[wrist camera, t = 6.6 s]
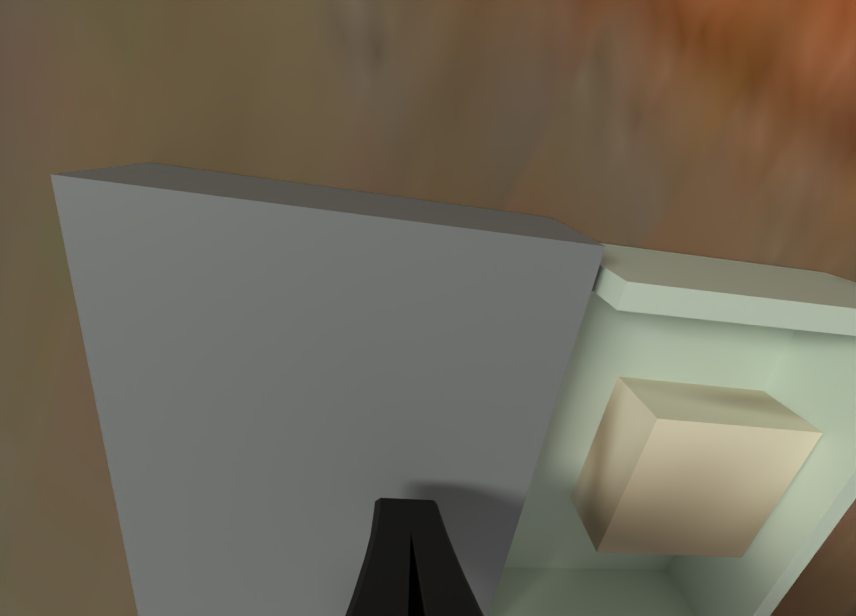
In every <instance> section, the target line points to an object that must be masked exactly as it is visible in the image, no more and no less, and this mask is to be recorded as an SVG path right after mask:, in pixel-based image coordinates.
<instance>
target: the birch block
mask: <svg viewBox="0 0 856 616" xmlns="http://www.w3.org/2000/svg"><path fill="white" fill-rule="evenodd" d="M822 434H823V432H821V431H820V430H818V429H817V428H815V427H814V426H813V425H811V424H810V423H808V422H807V421H805V420H804V419H803V418H801V417H800V416H798V415H797V414H795V413H794V412H792V411H791V410H790V409H788V408H787V407H785V406H784V405H782V404H781V403H780V402H778V401H777V400H775V399H774V398H772V397H771V396H769V395H768V394H767V393H765V392H764V391H760V390H750V389H740V388H730V387H720V386H710V385H700V384H690V383H680V382H670V381H660V380H650V379H640V378H630V377H620V376H618V378H617V381H616V383H615V386H614V388H613V391H612V393H611V396H610V398H609V401H608V404H607V406H606V409H605V411H604V414H603V416H602V419H601V421H600V424H599V426H598V429H597V432H596V434H595V437H594V439H593V442H592V444H591V447H590V449H589V452H588V455H587V457H586V460H585V462H584V465H583V467H582V470H581V472H580V475H579V478H578V480H577V483H576V485H575V488H574V490H573V493H572V495H571V501H572V503H573V505H574V507H575V509H576V511H577V513H578V515H579V517H580V519H581V521H582V523H583V525H584V527H585V529H586V531H587V533H588V535H589V537H590V539H591V542H592V544H593V546H594V548H595V550H596V552H606V553H633V554H661V555H688V556H715V557H742V556H743V555H744V553H745V552H746V550H747V549H748V547H749V546H750V544H751V543H752V541H753V539H754V538H755V536H756V535H757V533H758V532H759V530H760V529H761V527H762V526H763V524H764V523H765V521H766V520H767V518H768V517H769V515H770V513H771V512H772V510H773V509H774V507H775V506H776V504H777V503H778V501H779V500H780V498H781V497H782V495H783V494H784V492H785V491H786V489H787V487H788V486H789V484H790V483H791V481H792V480H793V478H794V477H795V475H796V474H797V472H798V471H799V469H800V468H801V466H802V465H803V463H804V461H805V460H806V458H807V457H808V455H809V454H810V452H811V451H812V449H813V448H814V446H815V445H816V443H817V442H818V440H819V439H820V437H821V435H822Z"/></svg>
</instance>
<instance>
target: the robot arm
mask: <svg viewBox="0 0 856 616" xmlns="http://www.w3.org/2000/svg"><path fill="white" fill-rule="evenodd" d="M345 616H484V615H483V613H482V611H481V609H480V607H479V605H478V603H477V601H476V598H475V596H474V594H473V592H472V590H471V588H470V586H469V583H468V581H467V579H466V577H465V575H464V573H463V570H462V568H461V566H460V563H459V561H458V559H457V556H456V554H455V551H454V549H453V547H452V544H451V542H450V539H449V536H448V534H447V531H446V528H445V526H444V523H443V520H442V517H441V514H440V511H439V508H438V505H437V503H436V502H435V501H434V500H421V499H398V498H379V499H378V500H376V501H375V505H374V512H373V519H372V527H371V534H370V538H369V542H368V546H367V550H366V554H365V558H364V561H363V564H362V567H361V570H360V574H359V577H358V580H357V583H356V586H355V589H354V592H353V595H352V598H351V601H350V604H349V607H348V609H347V612H346V615H345Z"/></svg>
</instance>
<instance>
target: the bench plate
mask: <svg viewBox="0 0 856 616" xmlns="http://www.w3.org/2000/svg"><path fill="white" fill-rule="evenodd" d="M51 179H52V184H53V189H54V194H55V199H56V204H57V209H58V214H59V219H60V224H61V229H62V234H63V240H64V245H65V250H66V255H67V260H68V265H69V270H70V275H71V280H72V285H73V290H74V295H75V300H76V305H77V310H78V315H79V320H80V325H81V330H82V335H83V340H84V345H85V350H86V355H87V360H88V365H89V370H90V375H91V380H92V386H93V391H94V396H95V401H96V406H97V411H98V416H99V421H100V426H101V431H102V436H103V441H104V446H105V451H106V456H107V461H108V466H109V471H110V476H111V481H112V486H113V491H114V496H115V501H116V506H117V511H118V516H119V521H120V526H121V531H122V537H123V542H124V547H125V552H126V557H127V562H128V567H129V572H130V577H131V582H132V587H133V592H134V597H135V602H136V607H137V612H138V616H345V615H346V612H347V609H348V607H349V604H350V601H351V598H352V595H353V592H354V589H355V586H356V583H357V580H358V577H359V574H360V570H361V567H362V564H363V561H364V558H365V554H366V550H367V546H368V542H369V538H370V534H371V527H372V519H373V512H374V505H375V501H376V500H378V499H379V498H398V499H421V500H434V501H435V502H436V503H437V505H438V508H439V511H440V514H441V517H442V520H443V523H444V526H445V528H446V531H447V534H448V536H449V539H450V542H451V544H452V547H453V549H454V551H455V554H456V556H457V559H458V561H459V563H460V566H461V568H462V570H463V573H464V575H465V577H466V579H467V581H468V583H469V586H470V588H471V590H472V592H473V594H474V596H475V598H476V601H477V603H478V605H479V607H480V609H481V611H482V613H483V615H484V616H489V613H490V610H491V607H492V603H493V600H494V597H495V594H496V591H497V588H498V585H499V581H500V578H501V575H502V572H503V569H504V566H505V562H506V559H507V556H508V553H509V550H510V547H511V543H512V540H513V537H514V534H515V531H516V528H517V525H518V521H519V518H520V515H521V512H522V509H523V506H524V502H525V499H526V496H527V493H528V490H529V487H530V484H531V480H532V477H533V474H534V471H535V468H536V465H537V461H538V458H539V455H540V452H541V449H542V446H543V442H544V439H545V436H546V433H547V430H548V427H549V424H550V420H551V417H552V414H553V411H554V408H555V405H556V401H557V398H558V395H559V392H560V389H561V386H562V382H563V379H564V376H565V373H566V370H567V367H568V364H569V360H570V357H571V354H572V351H573V348H574V345H575V341H576V338H577V335H578V332H579V329H580V326H581V322H582V319H583V316H584V313H585V310H586V307H587V304H588V300H589V297H590V294H591V291H592V288H593V285H594V281H595V278H596V275H597V272H598V269H599V266H600V263H601V259H602V256H603V253H604V250H605V247H606V246H604V245H602V244H600V243H598V242H596V241H595V240H593V239H591V238H589V237H587V236H585V235H583V234H581V233H579V232H578V231H576V230H574V229H572V228H570V227H568V226H566V225H564V224H562V223H561V222H559V221H557V220H555V219H553V218H549V217H542V216H535V215H527V214H520V213H513V212H506V211H498V210H491V209H484V208H476V207H469V206H462V205H454V204H447V203H440V202H432V201H425V200H418V199H411V198H403V197H396V196H389V195H381V194H374V193H367V192H359V191H352V190H345V189H337V188H330V187H323V186H316V185H308V184H301V183H294V182H286V181H279V180H272V179H264V178H257V177H250V176H242V175H235V174H228V173H221V172H213V171H206V170H199V169H191V168H184V167H177V166H169V165H162V164H155V163H141V164H133V165H125V166H116V167H108V168H100V169H91V170H83V171H75V172H66V173H58V174H51Z"/></svg>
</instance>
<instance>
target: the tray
mask: <svg viewBox="0 0 856 616" xmlns="http://www.w3.org/2000/svg"><path fill="white" fill-rule="evenodd" d="M600 244H602V245H604V246H606V247H605V250H604V253H603V256H602V259H601V263H600V266H599V269H598V272H597V275H596V278H595V281H594V285H593V288H592V291H591V294H590V297H589V300H588V304H587V307H586V310H585V313H584V316H583V319H582V322H581V326H580V329H579V332H578V335H577V338H576V341H575V345H574V348H573V351H572V354H571V357H570V360H569V364H568V367H567V370H566V373H565V376H564V379H563V382H562V386H561V389H560V392H559V395H558V398H557V401H556V405H555V408H554V411H553V414H552V417H551V420H550V424H549V427H548V430H547V433H546V436H545V439H544V442H543V446H542V449H541V452H540V455H539V458H538V461H537V465H536V468H535V471H534V474H533V477H532V480H531V484H530V487H529V490H528V493H527V496H526V499H525V502H524V506H523V509H522V512H521V515H520V518H519V521H518V525H517V528H516V531H515V534H514V537H513V540H512V543H511V547H510V550H509V553H508V556H507V559H506V562H505V566H504V569H503V572H502V575H501V578H500V581H499V585H498V588H497V591H496V594H495V597H494V600H493V603H492V607H491V610H490V613H489V616H770V615H771V614H772V612H773V611H774V609H775V608H776V607H777V605H778V604H779V603H780V601H781V600H782V599H783V597H784V596H785V594H786V593H787V592H788V590H789V589H790V588H791V586H792V585H793V583H794V582H795V581H796V579H797V578H798V577H799V575H800V574H801V573H802V571H803V570H804V568H805V567H806V566H807V564H808V563H809V562H810V560H811V559H812V557H813V556H814V555H815V553H816V552H817V551H818V549H819V548H820V547H821V545H822V544H823V542H824V541H825V540H826V538H827V537H828V536H829V534H830V533H831V531H832V530H833V529H834V527H835V526H836V525H837V523H838V522H839V520H840V519H841V518H842V516H843V515H844V514H845V512H846V511H847V510H848V508H849V507H850V505H851V504H852V503H853V501H854V500H855V499H856V283H855V282H852V281H849V280H846V279H843V278H840V277H836V276H833V275H830V274H827V273H824V272H817V271H810V270H802V269H794V268H787V267H779V266H771V265H764V264H756V263H748V262H741V261H733V260H725V259H718V258H710V257H702V256H695V255H687V254H679V253H672V252H664V251H656V250H649V249H641V248H633V247H626V246H618V245H610V244H603V243H600ZM618 376H620V377H630V378H640V379H650V380H660V381H670V382H680V383H690V384H700V385H710V386H720V387H730V388H740V389H750V390H760V391H764V392H765V393H767V394H768V395H769V396H771V397H772V398H774V399H775V400H777V401H778V402H780V403H781V404H782V405H784V406H785V407H787V408H788V409H790V410H791V411H792V412H794V413H795V414H797V415H798V416H800V417H801V418H803V419H804V420H805V421H807V422H808V423H810V424H811V425H813V426H814V427H815V428H817V429H818V430H820V431H821V432H823V434H822V435H821V437H820V439H819V440H818V442H817V443H816V445H815V446H814V448H813V449H812V451H811V452H810V454H809V455H808V457H807V458H806V460H805V461H804V463H803V465H802V466H801V468H800V469H799V471H798V472H797V474H796V475H795V477H794V478H793V480H792V481H791V483H790V484H789V486H788V487H787V489H786V491H785V492H784V494H783V495H782V497H781V498H780V500H779V501H778V503H777V504H776V506H775V507H774V509H773V510H772V512H771V513H770V515H769V517H768V518H767V520H766V521H765V523H764V524H763V526H762V527H761V529H760V530H759V532H758V533H757V535H756V536H755V538H754V539H753V541H752V543H751V544H750V546H749V547H748V549H747V550H746V552H745V553H744V555H743V556H742V557H715V556H688V555H661V554H633V553H606V552H596V550H595V548H594V546H593V544H592V542H591V539H590V537H589V535H588V533H587V531H586V529H585V527H584V525H583V523H582V521H581V519H580V517H579V515H578V513H577V511H576V509H575V507H574V505H573V503H572V501H571V495H572V493H573V490H574V488H575V485H576V483H577V480H578V478H579V475H580V472H581V470H582V467H583V465H584V462H585V460H586V457H587V455H588V452H589V449H590V447H591V444H592V442H593V439H594V437H595V434H596V432H597V429H598V426H599V424H600V421H601V419H602V416H603V414H604V411H605V409H606V406H607V404H608V401H609V398H610V396H611V393H612V391H613V388H614V386H615V383H616V381H617V378H618Z"/></svg>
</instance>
